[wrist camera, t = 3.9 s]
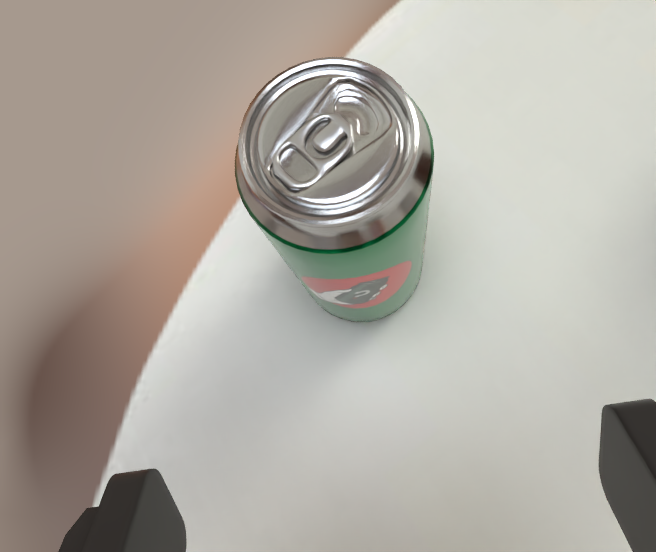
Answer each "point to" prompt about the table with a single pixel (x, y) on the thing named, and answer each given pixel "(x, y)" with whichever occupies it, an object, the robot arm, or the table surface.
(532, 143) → the table surface
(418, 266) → the soda can
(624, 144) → the table surface
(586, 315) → the table surface
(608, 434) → the robot arm
